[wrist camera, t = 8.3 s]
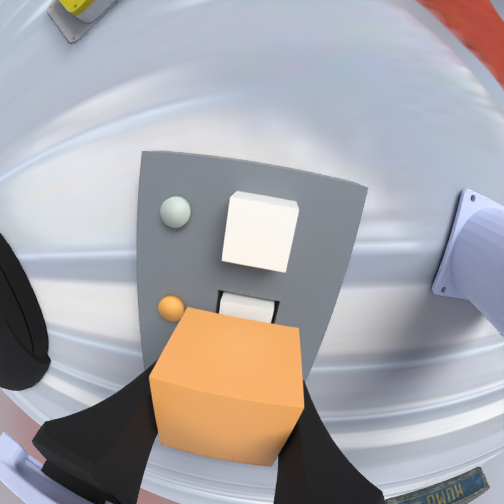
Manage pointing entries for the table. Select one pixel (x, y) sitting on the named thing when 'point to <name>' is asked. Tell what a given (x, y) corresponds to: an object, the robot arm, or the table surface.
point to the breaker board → (207, 240)
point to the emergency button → (77, 15)
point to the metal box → (448, 491)
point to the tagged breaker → (247, 307)
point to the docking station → (19, 327)
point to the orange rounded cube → (228, 387)
